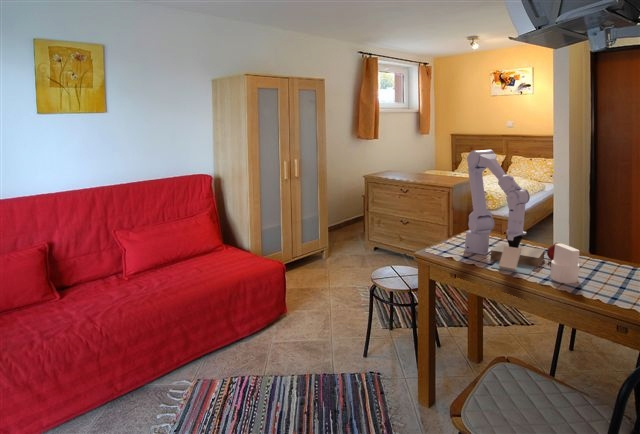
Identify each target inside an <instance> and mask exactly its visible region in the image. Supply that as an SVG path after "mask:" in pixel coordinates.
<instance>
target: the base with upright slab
mask: <svg viewBox="0 0 640 434" xmlns="http://www.w3.org/2000/svg"><path fill="white" fill-rule="evenodd" d="M554 244H555V243H554ZM580 252H581V251H580V250H579V249H577V248H575V247H573V246H571V245H566V244H564V243H558V244H555V250H554V260H551V262H550V273H549V278H550V279H551V280H552V281H555V282H558V283H563V284H575V283H578V280H579V273H580V272H579V271H580V263H579V258H580Z"/></svg>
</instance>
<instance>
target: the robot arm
mask: <svg viewBox="0 0 640 434" xmlns="http://www.w3.org/2000/svg"><path fill="white" fill-rule="evenodd" d="M466 160H467V171H468V178H469V179H468V180H469V187H470V194H471V203H472V209H473V211H471V213H470V214H469V215H468V223H467V225H468V229H469V230H467V232H466V234H465V241H464V243H465V245H464V252H467V253H470V254H471V253H472V254H478V255H484V256H487V255H488V254H489V253H491V250H492V249H490V247H489V246H490V233H491V232H492V230H494V228H495V220H494V217H493V213H492V212H491V211H490V210H488V208H487V201H486V194H485V187H484V186H485V185H484V178H483V172H484V171H485V170H486V169H488V170H489V171H490V173H492V174H493V175H494V176H495V178H496V179H497V180H498V182H497V184H498V186H499V187H500V189H501V190H502V191H503V193H504V194H505V195H506V196H505V197H506V198H505V200H506V203H507V208H508V217H507V229H506V236H505V238H506V242H507V244H509V247H514V248H518V247H519V246H520V244H521V241H523V239H524V235H527V231H524V225H525V216H526V215H525V214H526V205H527V204H528V203H529V201H530V198H531V196H530V193H529V191H528V190H527V189H526V188H522V187H521V186H520V185H519V184H518V183H517V181H516V180H515V179H514V177H513V175H510V174H506V172H505V171H504V169H503V168H502V166H501V165H500V163H499V162H498V160H497V155H496V153H495V152H494V150H492V149H484V150H483V149H482V150H470V152H469V153H468V155H467V156H466Z"/></svg>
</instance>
